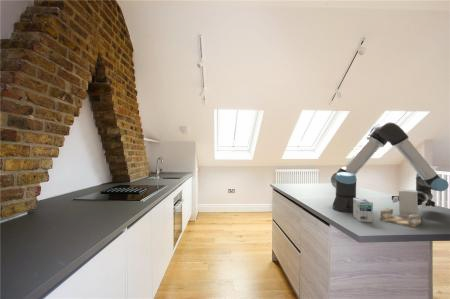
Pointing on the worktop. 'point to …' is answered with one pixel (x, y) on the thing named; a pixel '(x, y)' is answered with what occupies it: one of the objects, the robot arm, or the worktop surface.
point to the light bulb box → (362, 210)
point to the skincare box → (407, 203)
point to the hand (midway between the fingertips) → (407, 202)
